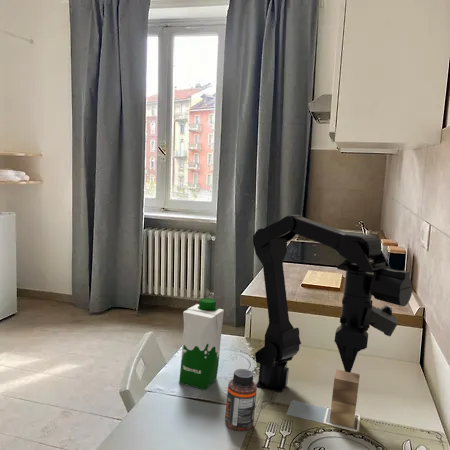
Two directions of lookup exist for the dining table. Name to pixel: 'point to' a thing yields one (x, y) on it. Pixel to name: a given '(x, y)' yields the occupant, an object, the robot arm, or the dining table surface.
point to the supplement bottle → (241, 401)
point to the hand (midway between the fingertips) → (349, 364)
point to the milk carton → (201, 344)
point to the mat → (310, 412)
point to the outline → (341, 426)
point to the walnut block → (345, 387)
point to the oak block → (342, 414)
